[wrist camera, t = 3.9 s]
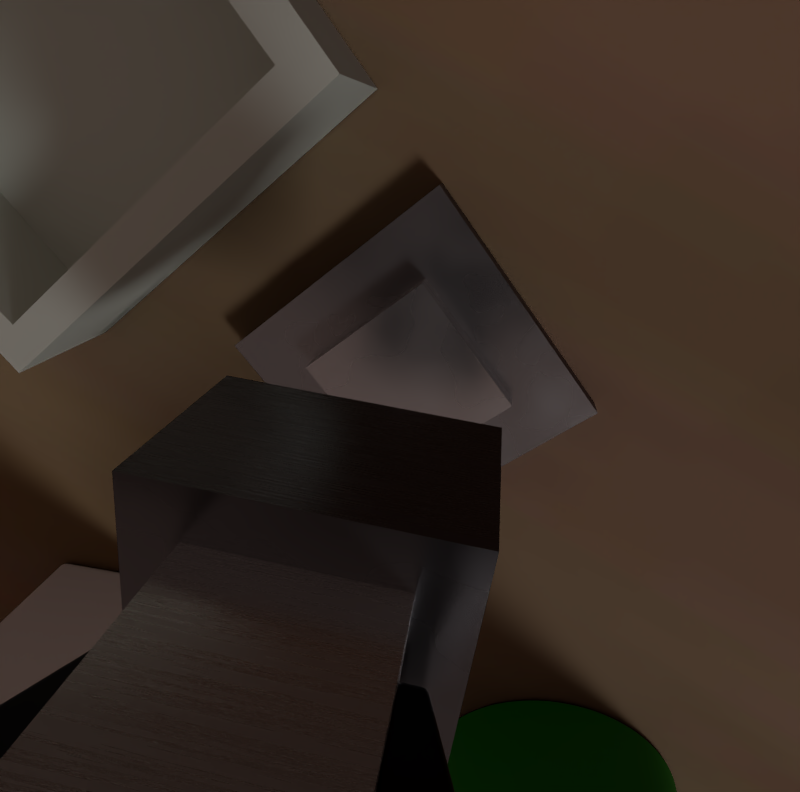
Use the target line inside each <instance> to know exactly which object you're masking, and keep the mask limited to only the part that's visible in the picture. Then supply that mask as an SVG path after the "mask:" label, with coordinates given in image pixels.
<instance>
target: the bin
mask: <svg viewBox="0 0 800 792" xmlns="http://www.w3.org/2000/svg"><path fill="white" fill-rule="evenodd" d="M376 90H377V87H376V86H375V85H374V83H373V82H372V80H371V79H370V77H369V76H368V74H367V73H366V71H365V70H364V69H363V67H362V66H361V64H360V63H359V61H358V60H357V58H356V57H355V56H354V54H353V53H352V51H351V50H350V48H349V47H348V45H347V44H346V43H345V41H344V40H343V38H342V37H341V35H340V34H339V32H338V31H337V29H336V28H335V27H334V25H333V24H332V22H331V21H330V19H329V18H328V16H327V15H326V14H325V12H324V11H323V9H322V8H321V6H320V5H319V3H318V2H317V1H316V0H0V353H1V354H2V355H3V356H4V358H5V359H6V360H7V361H8V362H9V363H10V364H11V365H12V366H13V367H14V368H15V369H16V370H17V371H18V372H19V373H20V372H22V371H25V370H27V369H29V368H31V367H33V366H35V365H37V364H39V363H41V362H44V361H46V360H48V359H50V358H52V357H54V356H56V355H58V354H61V353H63V352H65V351H67V350H69V349H71V348H73V347H75V346H78V345H80V344H82V343H84V342H86V341H88V340H90V339H92V338H94V337H97V336H99V335H101V334H103V333H105V332H106V331H108V330H109V329H110V328H111V327H112V326H113V325H114V324H115V323H116V322H118V321H119V320H120V319H121V318H122V317H123V316H124V315H125V314H127V313H128V312H129V311H130V310H131V309H132V308H133V307H134V306H135V305H137V304H138V303H139V302H140V301H141V300H142V299H143V298H144V297H146V296H147V295H148V294H149V293H150V292H151V291H152V290H153V289H154V288H156V287H157V286H158V285H159V284H160V283H161V282H162V281H163V280H165V279H166V278H167V277H168V276H169V275H170V274H171V273H172V272H173V271H175V270H176V269H177V268H178V267H179V266H180V265H181V264H182V263H183V262H185V261H186V260H187V259H188V258H189V257H190V256H191V255H192V254H194V253H195V252H196V251H197V250H198V249H199V248H200V247H201V246H202V245H204V244H205V243H206V242H207V241H208V240H209V239H210V238H211V237H213V236H214V235H215V234H216V233H217V232H218V231H219V230H220V229H221V228H223V227H224V226H225V225H226V224H227V223H228V222H229V221H230V220H232V219H233V218H234V217H235V216H236V215H237V214H238V213H239V212H240V211H242V210H243V209H244V208H245V207H246V206H247V205H248V204H249V203H251V202H252V201H253V200H254V199H255V198H256V197H257V196H258V195H259V194H261V193H262V192H263V191H264V190H265V189H266V188H267V187H268V186H270V185H271V184H272V183H273V182H274V181H275V180H276V179H277V178H278V177H280V176H281V175H282V174H283V173H284V172H285V171H286V170H287V169H288V168H290V167H291V166H292V165H293V164H294V163H295V162H296V161H297V160H299V159H300V158H301V157H302V156H303V155H304V154H305V153H306V152H307V151H309V150H310V149H311V148H312V147H313V146H314V145H315V144H316V143H318V142H319V141H320V140H321V139H322V138H323V137H324V136H325V135H326V134H328V133H329V132H330V131H331V130H332V129H333V128H334V127H335V126H337V125H338V124H339V123H340V122H341V121H342V120H343V119H344V118H345V117H347V116H348V115H349V114H350V113H351V112H352V111H353V110H354V109H356V108H357V107H358V106H359V105H360V104H361V103H362V102H363V101H364V100H366V99H367V98H368V97H369V96H370V95H371V94H372V93H373V92H374V91H376Z"/></svg>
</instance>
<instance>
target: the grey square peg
mask: <svg viewBox="0 0 800 792" xmlns="http://www.w3.org/2000/svg"><path fill="white" fill-rule="evenodd" d="M501 447H502V428H501V427H496V426H491V425H486V424H480V423H475V422H470V421H464V420H459V419H454V418H449V417H443V416H438V415H433V414H427V413H422V412H417V411H411V410H406V409H401V408H396V407H390V406H385V405H380V404H374V403H369V402H364V401H359V400H353V399H348V398H343V397H337V396H332V395H327V394H322V393H316V392H311V391H306V390H300V389H295V388H290V387H285V386H279V385H274V384H269V383H263V382H258V381H253V380H247V379H242V378H237V377H232V376H226V377H225V378H224V379H222V380H221V381H220V382H219V383H218V384H216V385H215V386H214V387H213V388H212V389H210V390H209V391H208V392H207V393H206V394H204V395H203V396H202V397H201V398H199V399H198V400H197V401H196V402H195V403H193V404H192V405H191V406H190V407H189V408H187V409H186V410H185V411H184V412H183V413H181V414H180V415H179V416H178V417H177V418H175V419H174V420H173V421H172V422H171V423H169V424H168V425H167V426H166V427H164V428H163V429H162V430H161V431H160V432H158V433H157V434H156V435H155V436H154V437H152V438H151V439H150V440H149V441H148V442H146V443H145V444H144V445H143V446H142V447H140V448H139V449H138V450H137V451H136V452H134V453H133V454H132V455H131V456H130V457H128V458H127V459H126V460H125V461H123V462H122V463H121V464H120V465H119V466H117V467H116V468H115V469H114V470H113V471H112V475H113V489H114V503H115V517H116V531H117V545H118V559H119V573H120V587H121V601H122V612H121V613H120V615H119V616H118V617H117V618H116V619H115V621H114V622H113V623H112V624H111V626H110V627H109V628H108V629H107V630H106V632H105V633H104V634H103V635H102V636H101V638H100V639H99V640H98V641H97V643H96V644H95V645H94V646H93V647H92V649H91V650H90V651H89V652H88V653H87V655H86V656H85V657H84V658H83V660H82V661H81V662H80V663H79V664H78V666H77V667H76V668H75V669H74V670H73V672H72V673H71V674H70V675H69V676H68V678H67V679H66V680H65V681H64V683H63V684H62V685H61V686H60V687H59V689H58V690H57V691H56V692H55V693H54V695H53V696H52V697H51V698H50V700H49V701H48V702H47V703H46V704H45V706H44V707H43V708H42V709H41V710H40V712H39V713H38V714H37V715H36V717H35V718H34V719H33V720H32V721H31V723H30V724H29V725H28V726H27V727H26V729H25V730H24V731H23V732H22V734H21V735H20V736H19V737H18V738H17V740H16V741H15V742H14V743H13V744H12V746H11V747H10V748H9V749H8V750H7V752H6V753H5V754H4V755H3V757H2V758H1V759H0V792H376V790H377V784H378V779H379V774H380V769H381V764H382V760H383V755H384V750H385V745H386V740H387V736H388V731H389V726H390V721H391V717H392V712H393V707H394V702H395V698H396V693H397V688H398V684H399V683H407V684H412V685H416V686H420V687H424V688H425V689H427V691H428V693H429V695H430V699H431V703H432V707H433V710H434V714H435V718H436V722H437V726H438V730H439V733H440V737H441V741H442V745H443V749H444V753H445V756H446V760H447V764H448V760H449V756H450V752H451V748H452V744H453V740H454V736H455V731H456V727H457V723H458V719H459V715H460V711H461V707H462V703H463V698H464V694H465V690H466V686H467V682H468V678H469V674H470V669H471V665H472V661H473V657H474V653H475V649H476V645H477V640H478V636H479V632H480V628H481V624H482V620H483V616H484V611H485V607H486V603H487V599H488V595H489V591H490V587H491V582H492V578H493V574H494V570H495V566H496V562H497V558H498V553H499V527H500V487H501Z"/></svg>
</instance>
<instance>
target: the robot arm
mask: <svg viewBox="0 0 800 792" xmlns="http://www.w3.org/2000/svg"><path fill="white" fill-rule="evenodd" d="M89 651H90V650H89ZM89 651H88V652H89ZM88 652H86V653H84V654H83V655H81V656H79V657H78V658H76V659H74V660H73V661H71V662H70V663H68V664H66V665H65V666H63V667H61V668H60V669H58V670H56V671H55V672H53V673H51V674H50V675H48V676H47V677H45V678H43V679H42V680H40V681H38V682H37V683H35V684H33V685H32V686H30V687H28V688H27V689H25V690H23V691H22V692H20V693H19V694H17V695H15V696H14V697H12V698H10V699H9V700H7V701H5V702H4V703H2V704H0V759H1V758H2V757H3V755H4V754H5V753H6V752H7V750H8V749H9V748H10V747H11V746H12V744H13V743H14V742H15V741H16V740H17V738H18V737H19V736H20V735H21V734H22V732H23V731H24V730H25V729H26V727H27V726H28V725H29V724H30V723H31V721H32V720H33V719H34V718H35V717H36V715H37V714H38V713H39V712H40V710H41V709H42V708H43V707H44V706H45V704H46V703H47V702H48V701H49V700H50V698H51V697H52V696H53V695H54V693H55V692H56V691H57V690H58V689H59V687H60V686H61V685H62V684H63V683H64V681H65V680H66V679H67V678H68V676H69V675H70V674H71V673H72V672H73V670H74V669H75V668H76V667H77V666H78V664H79V663H80V662H81V661H82V660H83V658H84V657H85V656H86V655H87V653H88ZM376 792H455V791H454V787H453V783H452V779H451V776H450V772H449V768H448V764H447V760H446V756H445V753H444V749H443V745H442V741H441V737H440V733H439V730H438V726H437V722H436V718H435V714H434V710H433V707H432V703H431V699H430V695H429V693H428V691H427V689H425V688H424V687H420V686H416V685H412V684H407V683H399V684H398V688H397V693H396V698H395V702H394V707H393V712H392V717H391V721H390V726H389V731H388V736H387V740H386V745H385V750H384V755H383V760H382V764H381V769H380V774H379V779H378V784H377V790H376Z"/></svg>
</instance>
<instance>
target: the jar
mask: <svg viewBox="0 0 800 792" xmlns="http://www.w3.org/2000/svg"><path fill="white" fill-rule="evenodd" d="M121 612H122V601H121V587H120V573H119V572H114V571H108V570H102V569H96V568H91V567H85V566H79V565H73V564H62V565H61V566H60V567H59V568H57V569H56V570H55V571H54V572H53V573H52V574H51V575H50V576H49V577H48V578H47V579H46V580H45V581H44V582H43V583H42V584H40V585H39V586H38V587H37V588H36V589H35V590H34V591H33V592H32V593H31V594H30V595H29V596H28V597H27V598H26V599H25V600H24V601H22V602H21V603H20V604H19V605H18V606H17V607H16V608H15V609H14V610H13V611H12V612H11V613H10V614H9V615H8V616H7V617H6V618H4V619H3V620H2V621H1V622H0V704H2V703H4V702H5V701H7V700H9V699H10V698H12V697H14V696H15V695H17V694H19V693H20V692H22V691H23V690H25V689H27V688H28V687H30V686H32V685H33V684H35V683H37V682H38V681H40V680H42V679H43V678H45V677H47V676H48V675H50V674H51V673H53V672H55V671H56V670H58V669H60V668H61V667H63V666H65V665H66V664H68V663H70V662H71V661H73V660H74V659H76V658H78V657H79V656H81V655H83V654H84V653H86V652H88V651H89V650H91V649H92V647H93V646H94V645H95V644H96V643H97V641H98V640H99V639H100V638H101V636H102V635H103V634H104V633H105V632H106V630H107V629H108V628H109V627H110V626H111V624H112V623H113V622H114V621H115V619H116V618H117V617H118V616H119V615H120V613H121Z"/></svg>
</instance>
